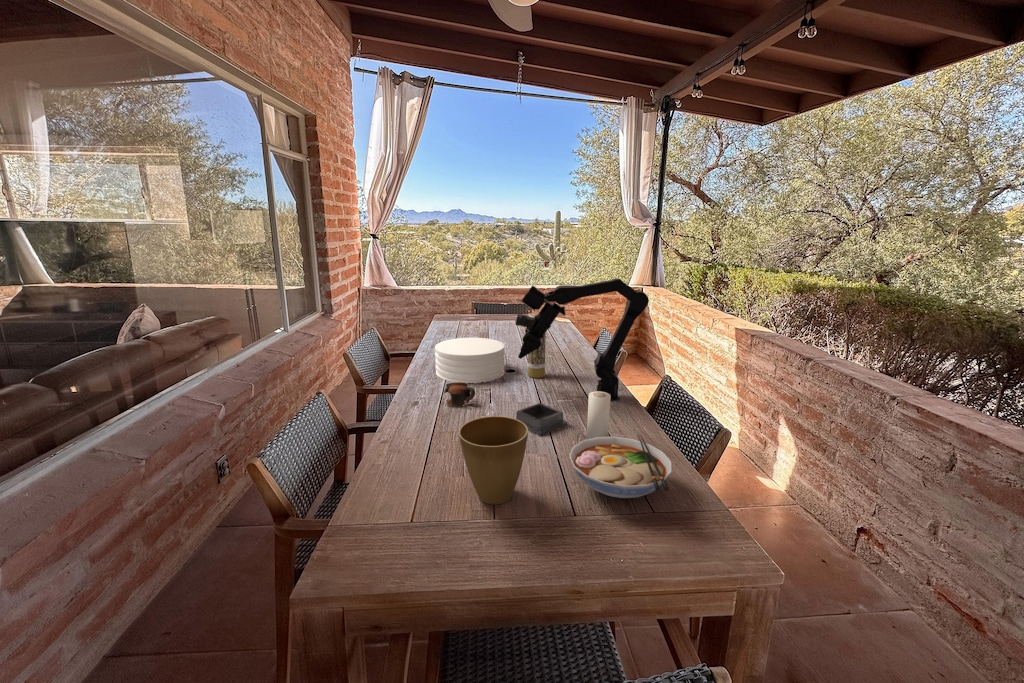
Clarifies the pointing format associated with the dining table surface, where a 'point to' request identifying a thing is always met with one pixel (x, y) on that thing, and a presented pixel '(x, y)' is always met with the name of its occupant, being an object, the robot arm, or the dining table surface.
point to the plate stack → (469, 360)
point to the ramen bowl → (621, 466)
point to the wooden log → (537, 358)
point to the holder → (541, 418)
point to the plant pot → (494, 455)
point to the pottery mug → (459, 393)
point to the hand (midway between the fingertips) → (520, 354)
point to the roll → (598, 414)
